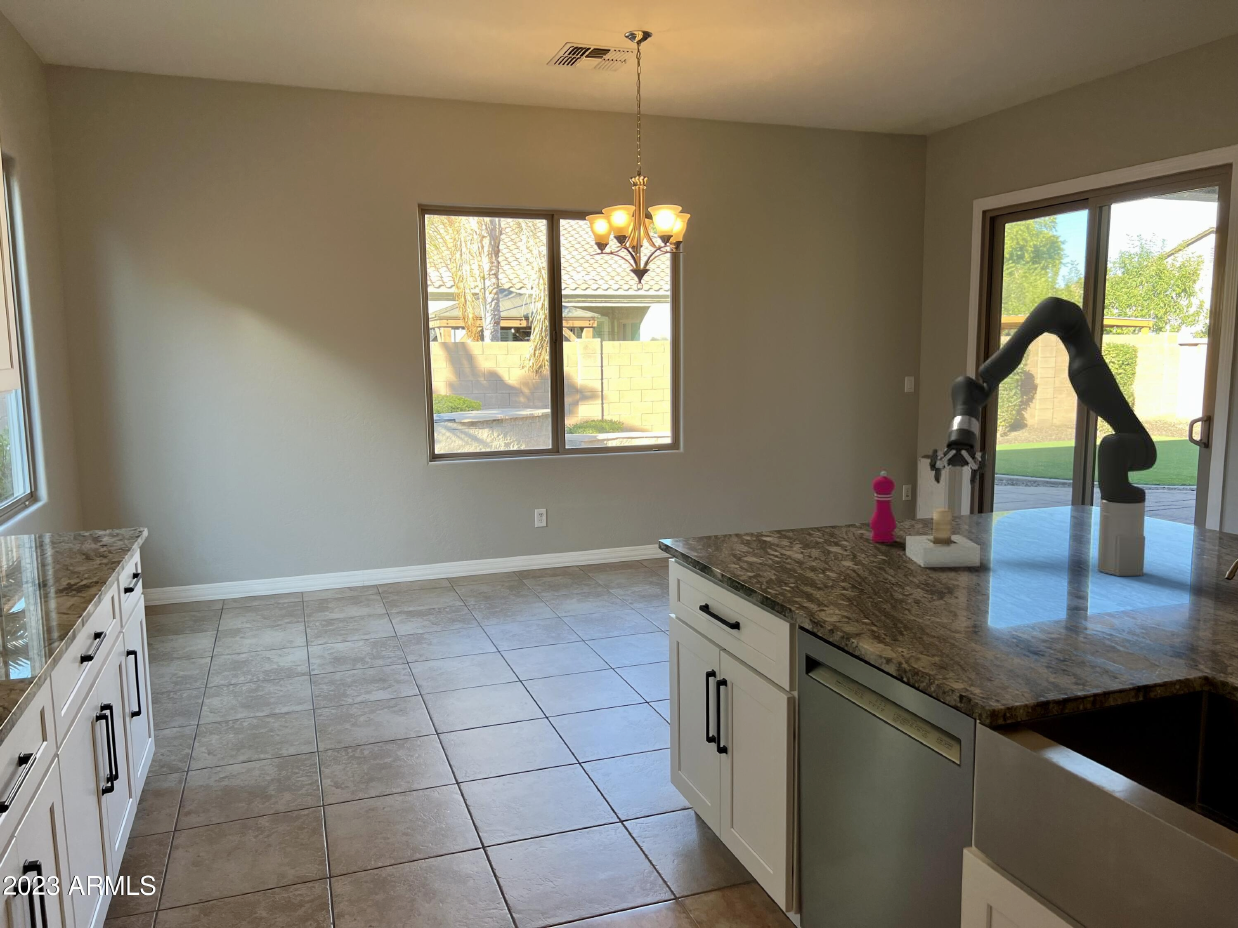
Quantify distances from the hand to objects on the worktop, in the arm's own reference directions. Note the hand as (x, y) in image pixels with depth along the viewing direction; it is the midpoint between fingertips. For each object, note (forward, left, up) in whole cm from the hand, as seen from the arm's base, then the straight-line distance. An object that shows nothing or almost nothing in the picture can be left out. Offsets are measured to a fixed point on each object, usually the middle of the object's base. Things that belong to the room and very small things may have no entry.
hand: (954, 482), depth 229 cm
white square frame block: (-10, +7, -19) cm, 22 cm away
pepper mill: (+15, +15, -19) cm, 28 cm away
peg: (-10, +7, -19) cm, 22 cm away
